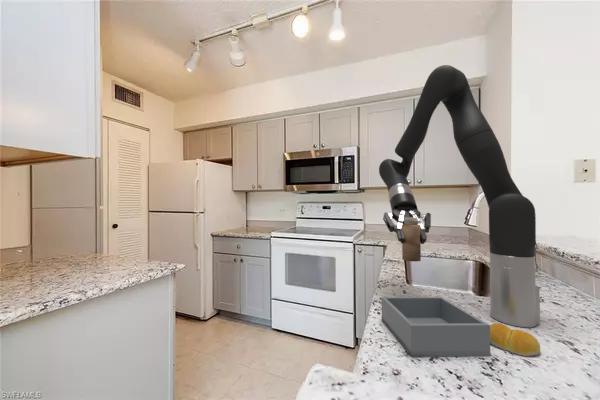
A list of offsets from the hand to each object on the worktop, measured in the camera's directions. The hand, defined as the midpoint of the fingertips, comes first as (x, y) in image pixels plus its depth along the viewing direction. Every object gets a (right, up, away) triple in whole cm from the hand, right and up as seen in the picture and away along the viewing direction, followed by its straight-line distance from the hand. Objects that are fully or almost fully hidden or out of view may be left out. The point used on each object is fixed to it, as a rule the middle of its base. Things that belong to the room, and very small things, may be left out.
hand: (413, 241), depth 70 cm
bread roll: (+14, -20, -16) cm, 29 cm away
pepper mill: (0, -5, +2) cm, 6 cm away
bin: (-2, -19, -13) cm, 23 cm away
